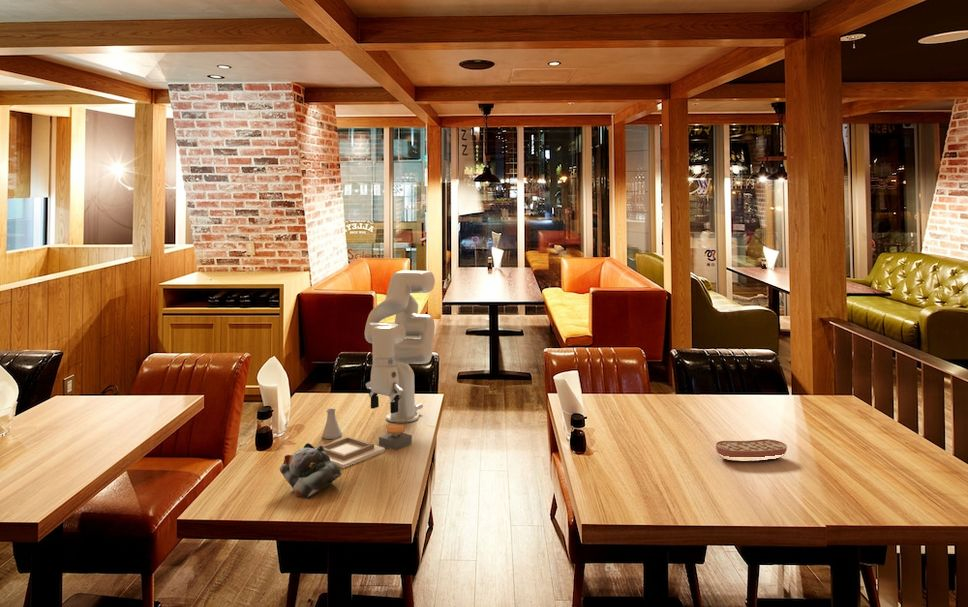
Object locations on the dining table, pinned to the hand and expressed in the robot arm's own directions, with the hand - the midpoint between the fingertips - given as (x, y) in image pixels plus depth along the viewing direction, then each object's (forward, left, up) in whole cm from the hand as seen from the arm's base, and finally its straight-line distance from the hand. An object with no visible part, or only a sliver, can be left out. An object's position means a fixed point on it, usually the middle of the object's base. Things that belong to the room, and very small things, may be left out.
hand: (384, 410), depth 222 cm
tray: (+15, -3, -12) cm, 19 cm away
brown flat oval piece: (-61, +107, -12) cm, 123 cm away
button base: (-1, +4, -12) cm, 12 cm away
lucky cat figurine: (+40, +11, -12) cm, 43 cm away
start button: (-1, +4, -10) cm, 11 cm away
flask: (+7, -20, -12) cm, 24 cm away
